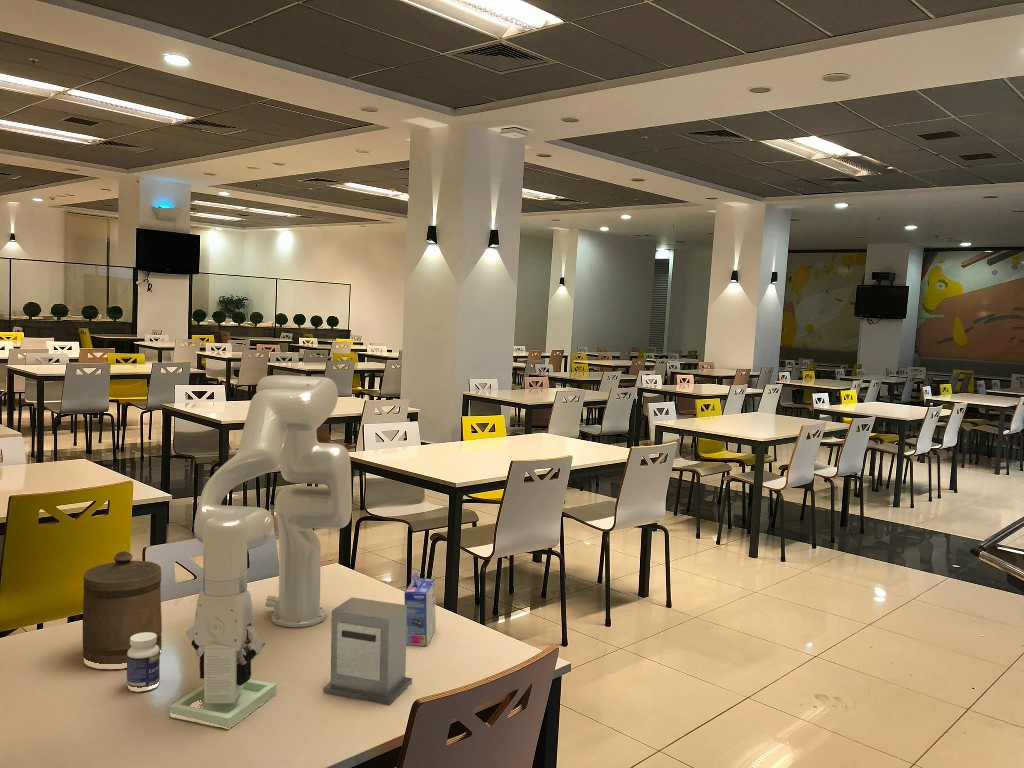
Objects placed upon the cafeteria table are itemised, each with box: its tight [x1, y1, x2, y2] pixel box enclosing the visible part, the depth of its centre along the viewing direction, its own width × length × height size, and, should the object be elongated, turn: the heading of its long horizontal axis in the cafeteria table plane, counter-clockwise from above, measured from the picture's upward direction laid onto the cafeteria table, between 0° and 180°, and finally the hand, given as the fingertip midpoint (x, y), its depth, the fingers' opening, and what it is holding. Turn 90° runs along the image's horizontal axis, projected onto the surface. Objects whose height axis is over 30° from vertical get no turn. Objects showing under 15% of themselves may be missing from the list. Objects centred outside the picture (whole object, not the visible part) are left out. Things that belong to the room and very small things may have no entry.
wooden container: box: [82, 550, 163, 664], centre depth 171 cm, size 15×15×22 cm
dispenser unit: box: [322, 596, 413, 706], centre depth 160 cm, size 14×10×16 cm
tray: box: [168, 678, 277, 728], centre depth 151 cm, size 12×14×2 cm
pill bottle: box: [126, 632, 161, 688], centre depth 158 cm, size 6×6×10 cm
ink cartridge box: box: [404, 572, 436, 647], centre depth 186 cm, size 10×6×14 cm, turn 174°
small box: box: [203, 643, 246, 703], centre depth 151 cm, size 8×6×10 cm
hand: (225, 678), depth 151 cm, fingers closed on small box, 7 cm apart
